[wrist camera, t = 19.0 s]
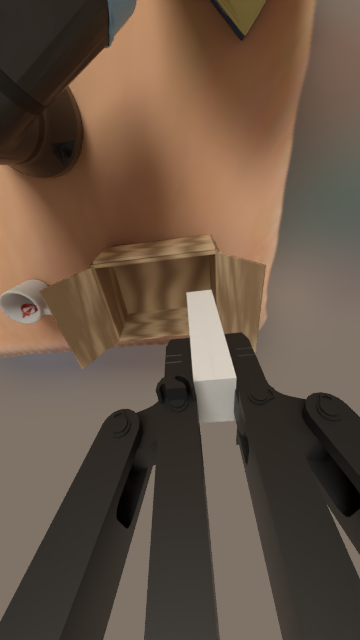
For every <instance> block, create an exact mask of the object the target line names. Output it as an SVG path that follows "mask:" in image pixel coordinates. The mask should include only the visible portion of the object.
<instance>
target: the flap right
mask: <svg viewBox="0 0 360 640" xmlns="http://www.w3.org/2000/svg"><path fill="white" fill-rule="evenodd" d="M218 258H219V318H220V321H221V325H222V328H223V332H224V334H229V333H239V332H242V333H243V334H244V335H245V336H246V337H247V338H248V339H249V341H250V343H251V345H252V348H253V350H254V353H255V352H256V345H257V337H258V328H259V319H260V311H261V302H262V294H263V285H264V277H265V268H266V265H264V264H261V263H257V262H253V261H250V260H246V259H243V258H239V257H236V256H232V255H228V254H225V253H221V252H220V253H218Z"/></svg>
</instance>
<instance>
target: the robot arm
mask: <svg viewBox="0 0 360 640" xmlns="http://www.w3.org/2000/svg"><path fill="white" fill-rule="evenodd" d="M135 6H136V0H0V165H9V166H11V167H13V168H14V169H16V170H18V171H20V172H22V173H24V174H26V175H29V176H33V177H38V178H51V177H57V176H61V175H63V174H65V173H66V172H68V171H69V170H70V169H71V168H72V167H73V166H74V165H75V163H76V161H77V159H78V157H79V155H80V152H81V147H82V139H83V132H82V122H81V117H80V113H79V109H78V106H77V104H76V101H75V98H74V96H73V94H72V92H71V90H70V88H69V86H68V85H69V84H70V83H71V82H72V81H73V80H74V79H75V78H76V77H77V76H78V75H79V74H80V73H81V72H82V71H83V70H84V69H85V68H86V66H87V65H88V64H89V63H90V62H91V61H92V60H93V59H94V58H95V57H96V56H97V55H98V54H99V53H100V52H101V51H102V50H103V49H104V48H108V47H110V46H111V43H112V42H113V40H114V36H115V35H116V34H117V32H118V31H119V30H120V29H121V28H122V26H123V25H124V24H125V23H126V22H127V20H128V19H129V18H130V17H131V15H132V14H133V12H134V9H135ZM186 294H187V307H188V319H189V332H190V338H185V339H175V340H170V342H169V344H168V345H167V347H166V360H165V377H164V378H162V379H161V381H160V382H159V383H158V385H157V388H156V393H157V396H158V400H159V401H158V402H157V403H156V404H154V405H153V406H151V407H149V408H147V409H145V410H143V411H140V412H137V413H135V412H134V411H132V410H129V409H121V410H118V411H116V412H114V413H112V414H111V415H110V416H109V417H108V418H107V419H106V420H105V422H104V423H103V425H102V427H101V429H100V431H99V432H98V434H97V436H96V438H95V440H94V442H93V444H92V446H91V448H90V450H89V452H88V454H87V456H86V458H85V459H84V461H83V464H82V465H81V467H80V469H79V471H78V473H77V475H76V477H75V479H74V481H73V483H72V484H71V486H70V488H69V491H68V492H67V494H66V496H65V498H64V500H63V502H62V504H61V506H60V508H59V510H58V511H57V514H56V515H55V517H54V519H53V521H52V523H51V525H50V527H49V529H48V531H47V533H46V535H45V537H44V539H43V540H42V542H41V544H40V546H39V548H38V550H37V552H36V554H35V556H34V558H33V560H32V562H31V564H30V566H29V567H28V569H27V571H26V573H25V575H24V577H23V579H22V581H21V583H20V585H19V587H18V589H17V590H16V593H15V594H14V597H13V598H12V600H11V602H10V604H9V606H8V608H7V610H6V612H5V614H4V616H3V617H2V620H1V621H0V640H103V638H104V634H105V631H106V627H107V623H108V620H109V617H110V613H111V610H112V607H113V603H114V599H115V596H116V593H117V589H118V586H119V582H120V579H121V575H122V572H123V568H124V565H125V561H126V558H127V554H128V551H129V547H130V543H131V540H132V537H133V533H134V530H135V526H136V523H137V519H138V516H139V512H140V509H141V505H142V502H143V498H144V495H145V491H146V488H147V484H148V480H149V477H150V474H151V470H152V467H153V465H156V470H155V486H154V501H153V516H152V530H151V545H150V560H149V576H148V590H147V605H146V620H145V635H144V640H220V638H219V628H218V617H217V606H216V596H215V584H214V574H213V563H212V552H211V542H210V530H209V519H208V509H207V499H206V487H205V476H204V467H203V456H202V445H201V435H200V425H199V423H209V422H222V421H234V419H236V423H237V438H236V442H237V445H238V444H239V446H240V450H241V455H242V459H243V463H244V468H245V472H246V477H247V481H248V486H249V490H250V495H251V499H252V504H253V508H254V513H255V517H256V522H257V526H258V531H259V535H260V540H261V544H262V549H263V553H264V557H265V562H266V566H267V570H268V575H269V580H270V584H271V589H272V593H273V598H274V602H275V607H276V611H277V616H278V620H279V625H280V629H281V633H282V638H283V640H360V579H359V576H358V574H357V572H356V570H355V567H354V565H353V563H352V561H351V558H350V556H349V554H348V552H347V549H346V547H345V545H344V542H343V540H342V538H341V536H340V533H339V531H338V529H337V527H336V524H335V522H334V520H333V518H332V515H331V513H330V511H329V509H328V507H329V508H330V510H331V511H332V513H333V514H334V516H335V517H336V519H337V520H338V522H339V524H340V525H341V526H342V528H343V530H344V531H345V533H346V534H347V536H348V537H349V539H350V540H351V542H352V543H353V545H354V546H355V548H356V550H357V551H358V553H359V554H360V417H359V416H358V415H357V414H356V413H355V412H354V411H353V410H352V409H351V408H350V407H349V406H348V405H347V404H346V403H344V402H343V401H342V400H340V399H339V398H337V397H335V396H333V395H331V394H327V393H321V392H320V393H313V394H311V395H310V396H308V397H307V399H301V398H296V397H291V396H287V395H284V394H281V393H279V392H277V391H276V390H274V388H272V387H271V386H270V385H269V384H268V382H267V381H266V379H265V377H264V374H263V372H262V369H261V367H260V365H259V362H258V360H257V357H256V355H255V353H254V350H253V348H252V345H251V343H250V341H249V339H248V338H247V337H246V336H245V335H244V334H243V333H242V332H239V333H229V334H224V332H223V328H222V325H221V321H220V318H219V314H218V311H217V307H216V304H215V300H214V297H213V293H212V290H204V291H195V292H186ZM327 505H328V507H327Z"/></svg>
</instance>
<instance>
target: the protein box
mask: <svg viewBox="0 0 360 640" xmlns="http://www.w3.org/2000/svg"><path fill="white" fill-rule="evenodd" d="M266 1H267V0H211V2H212V3H213V4H214V6H215V7H216V8H217V10H218V11H219V12H220V14H221V15H222V16H223V17H224V19H225V20H226V21H227V23H228V24H229V25H230V27H231V28H232V29H233V31H234V32H235V33H236V34H237V36H238V37H239V38H240V40H242V41H243V39H244V38H245V36H246V34H247V33H248V31H249V29H250V28H251V26H252V24H253V23H254V21H255V19H256V18H257V16H258V14H259V13H260V11H261V9H262V8H263V6H264V4H265V3H266Z"/></svg>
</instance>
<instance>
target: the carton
mask: <svg viewBox="0 0 360 640" xmlns="http://www.w3.org/2000/svg"><path fill="white" fill-rule="evenodd" d="M218 253H219V249H218V247H217V245H216V243H215V241H214V239H213V237H212V235H202V236H194V237H186V238H178V239H170V240H162V241H154V242H146V243H138V244H130V245H122V246H114V247H106V248H104V249H103V251H102V252H101V253H100V254H99V255H98V256H97V257H96V259H95V260H94V261H93V262H92V264H91V265H90V268H91V270H92V273H93V276H94V278H95V281H96V284H97V286H98V289H99V292H100V294H101V297H102V300H103V302H104V305H105V308H106V310H107V313H108V316H109V318H110V321H111V324H112V326H113V329H114V332H115V335H116V337H117V340H118V341H120V340H121V342H122V341H132V340H142V339H152V338H162V337H172V336H182V335H190V332H189V319H188V307H187V294H186V292H195V291H204V290H212V293H213V297H214V300H215V304H216V307H217V311H218V314H219V258H218Z"/></svg>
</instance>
